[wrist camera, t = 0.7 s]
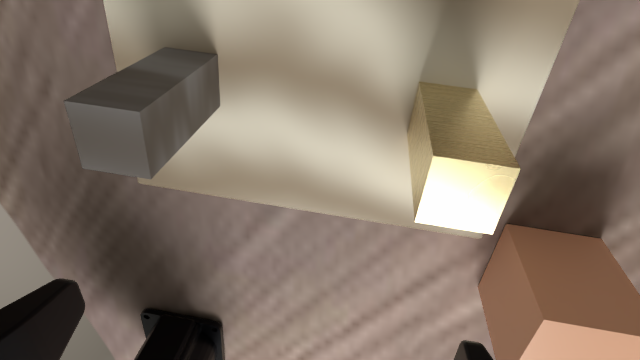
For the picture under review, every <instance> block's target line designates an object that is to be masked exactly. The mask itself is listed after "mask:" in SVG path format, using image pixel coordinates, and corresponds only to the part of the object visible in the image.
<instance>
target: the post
mask: <svg viewBox="0 0 640 360" xmlns="http://www.w3.org/2000/svg"><path fill="white" fill-rule="evenodd" d="M407 139H408V151H409V162H410V174H411V185H412V197H413V208H414V220H415V222H417V223H424V224H430V225H436V226H442V227H448V228H455V229H461V230H467V231H473V232H479V233H485V234H492V235H493V232H494V230H495V228H496V225H497V223H498V221H499V218H500V216H501V214H502V211H503V209H504V207H505V204H506V202H507V200H508V197H509V195H510V193H511V190H512V188H513V186H514V183H515V181H516V179H517V176H518V174H519V172H520V169H521V168H520V167H519V165H518V163H517V161H516V159H515V157H514V156H513V154H512V152H511V150H510V148H509V146H508V145H507V143H506V141H505V139H504V137H503V135H502V134H501V132H500V130H499V128H498V126H497V124H496V122H495V121H494V119H493V117H492V115H491V113H490V111H489V110H488V108H487V106H486V104H485V102H484V100H483V99H482V97H481V95H480V93H479V91H478V89H471V88H464V87H456V86H449V85H442V84H434V83H427V82H419V84H418V88H417V92H416V97H415V101H414V105H413V109H412V114H411V118H410V122H409V127H408V131H407Z"/></svg>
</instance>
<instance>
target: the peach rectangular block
mask: <svg viewBox="0 0 640 360" xmlns="http://www.w3.org/2000/svg"><path fill="white" fill-rule="evenodd" d="M478 289H479V293H480V297H481V301H482V305H483V309H484V313H485V317H486V322H487V326H488V330H489V334H490V338H491V342H492V346H493V350H494V354H495V358H496V360H640V295H639V293H638V292H637V290H636V289H635V287H634V286H633V284H632V283H631V281H630V280H629V279H628V277H627V276H626V274H625V273H624V271H623V270H622V268H621V267H620V265H619V264H618V262H617V261H616V259H615V258H614V257H613V255H612V254H611V252H610V251H609V249H608V248H607V246H606V245H605V243H604V242H603V240H602V239H600V238H593V237H587V236H581V235H574V234H568V233H562V232H555V231H549V230H543V229H537V228H530V227H524V226H518V225H511V224H506V225H505V227H504V229H503V232H502V234H501V236H500V238H499V241H498V243H497V245H496V247H495V250H494V252H493V254H492V256H491V259H490V261H489V263H488V265H487V268H486V270H485V272H484V274H483V277H482V279H481V281H480V283H479V286H478Z"/></svg>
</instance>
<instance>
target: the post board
mask: <svg viewBox="0 0 640 360" xmlns="http://www.w3.org/2000/svg"><path fill="white" fill-rule="evenodd" d="M579 1H580V0H103V2H104V7H105V12H106V17H107V23H108V28H109V33H110V38H111V43H112V49H113V54H114V59H115V64H116V70H117V73H115V74H113V75H111V76H109V77H108V78H106V79H104V80H102V81H100V82H98V83H96V84H94V85H93V86H91V87H89V88H87V89H85V90H83V91H81V92H79V93H78V94H76V95H74V96H72V97H70V98H68V99H66V100H64V103H65V107H66V111H67V114H68V118H69V121H70V125H71V129H72V132H73V136H74V139H75V143H76V147H77V150H78V154H79V158H80V161H81V165H82V168H83V169H89V170H95V171H102V172H108V173H114V174H120V175H126V176H132V177H137V179H138V183H139V184H145V185H151V186H157V187H163V188H170V189H176V190H182V191H188V192H194V193H200V194H206V195H213V196H219V197H225V198H231V199H237V200H243V201H249V202H256V203H262V204H268V205H274V206H280V207H286V208H292V209H299V210H305V211H311V212H317V213H323V214H329V215H336V216H342V217H348V218H354V219H360V220H366V221H372V222H379V223H385V224H391V225H397V226H403V227H409V228H415V229H422V230H428V231H434V232H440V233H446V234H452V235H459V236H465V237H471V238H477V239H481V238H482V236H483V233H479V232H473V231H467V230H461V229H455V228H448V227H442V226H436V225H430V224H424V223H417V222H415V220H414V208H413V197H412V185H411V174H410V162H409V151H408V139H407V131H408V127H409V122H410V118H411V114H412V109H413V105H414V101H415V97H416V92H417V88H418V84H419V82H427V83H434V84H442V85H449V86H456V87H464V88H471V89H478V91H479V93H480V95H481V97H482V99H483V100H484V102H485V104H486V106H487V108H488V110H489V111H490V113H491V115H492V117H493V119H494V121H495V122H496V124H497V126H498V128H499V130H500V132H501V134H502V135H503V137H504V139H505V141H506V143H507V145H508V146H509V148H510V150H511V152H512V154H513V156H514V157H515V156H516V153H517V151H518V149H519V146H520V144H521V141H522V139H523V136H524V134H525V132H526V129H527V127H528V124H529V122H530V119H531V117H532V115H533V112H534V110H535V107H536V105H537V102H538V100H539V98H540V95H541V93H542V90H543V88H544V86H545V83H546V81H547V78H548V76H549V73H550V71H551V69H552V66H553V64H554V61H555V59H556V56H557V54H558V52H559V49H560V47H561V44H562V42H563V39H564V37H565V35H566V32H567V30H568V27H569V25H570V23H571V20H572V18H573V15H574V13H575V10H576V8H577V6H578V3H579Z"/></svg>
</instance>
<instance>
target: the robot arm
mask: <svg viewBox="0 0 640 360" xmlns="http://www.w3.org/2000/svg"><path fill="white" fill-rule="evenodd" d="M84 310H85V302H84V299H83V296H82V294H81V291H80V289H79V286H78V284H77V282H75V281H73V280H68V279H56V280H53V281H51V282H49V283H48V284H46V285H44V286H42V287H40V288H38V289H37V290H35V291H33V292H31V293H29V294H27V295H26V296H24V297H22V298H20V299H18V300H16V301H15V302H13V303H11V304H9V305H7V306H5V307H3V308H2V309H0V360H60V358H61V356H62V354H63V352H64V350H65V348H66V346H67V344H68V342H69V340H70V338H71V337H72V334H73V333H74V331H75V329H76V327H77V325H78V323H79V321H80V319H81V317H82V315H83V313H84ZM141 320H142V324H143V328H144V332H145V336H146V340H145V342H144V344H143V345H142V347H141V349H140V350H139V352H138V354H137V355H136V357H135V359H134V360H225V358H224V343H223V329H222V325H221V324H220V323H219V322H216V321H211V320H206V319H200V318H195V317H190V316H184V315H179V314H173V313H168V312H163V311H157V310H152V309H144V310H143V312H142V313H141ZM454 360H493V359H492V357H491V356H490V354H489V353H488V351H487V350H486V348H485V347H484V346H483V345H482V344H481V343H479V342H473V341H466V340H463V341H462V342H461V343H460V345H459V348H458V350H457V353H456V355H455V358H454Z"/></svg>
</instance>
